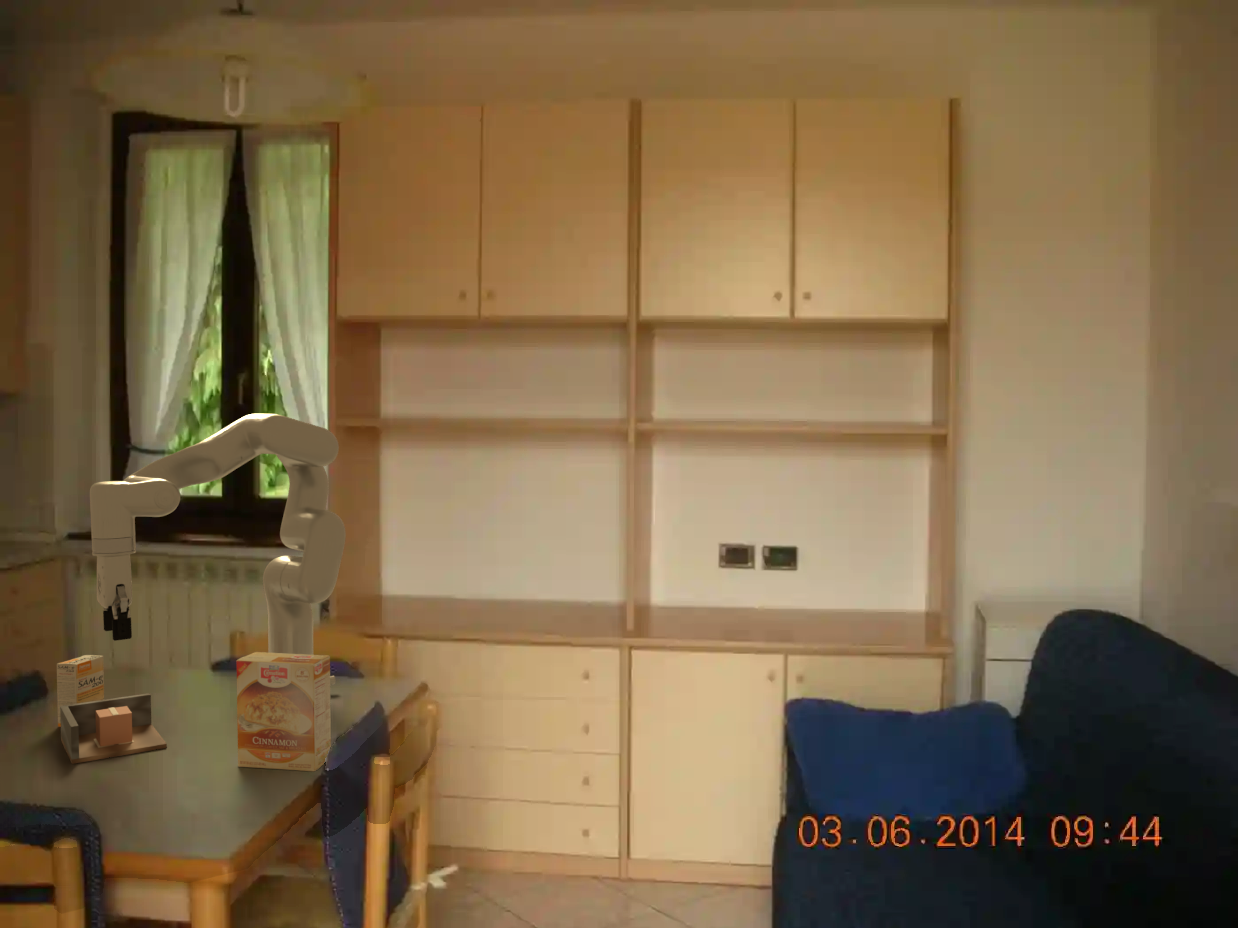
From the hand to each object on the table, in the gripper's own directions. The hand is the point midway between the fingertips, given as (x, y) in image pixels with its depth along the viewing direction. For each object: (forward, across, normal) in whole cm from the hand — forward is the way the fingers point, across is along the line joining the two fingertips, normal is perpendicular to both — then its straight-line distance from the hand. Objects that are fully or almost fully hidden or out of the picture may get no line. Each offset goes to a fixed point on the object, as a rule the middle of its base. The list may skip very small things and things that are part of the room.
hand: (117, 634), depth 199 cm
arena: (+21, +1, -2) cm, 21 cm away
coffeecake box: (+21, +30, +22) cm, 43 cm away
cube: (+20, +2, -2) cm, 20 cm away
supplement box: (+21, -18, -4) cm, 28 cm away
